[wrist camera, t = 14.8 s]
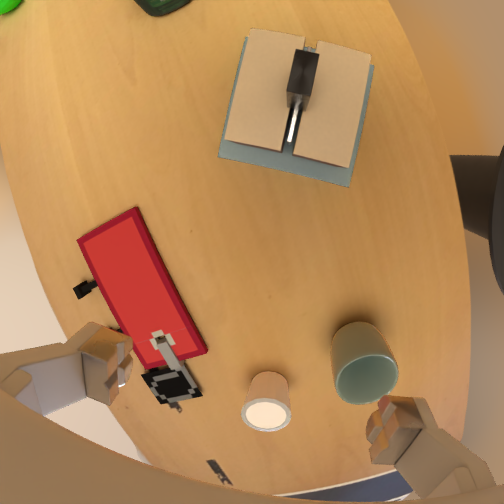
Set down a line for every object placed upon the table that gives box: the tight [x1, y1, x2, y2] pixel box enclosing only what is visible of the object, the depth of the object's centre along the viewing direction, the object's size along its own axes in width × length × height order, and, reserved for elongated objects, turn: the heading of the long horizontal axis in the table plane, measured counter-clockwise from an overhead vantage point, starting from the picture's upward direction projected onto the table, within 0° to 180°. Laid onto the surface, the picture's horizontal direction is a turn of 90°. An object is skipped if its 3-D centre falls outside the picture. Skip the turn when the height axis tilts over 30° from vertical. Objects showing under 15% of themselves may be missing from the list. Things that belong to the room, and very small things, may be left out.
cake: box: [218, 28, 374, 187], centre depth 31 cm, size 16×16×9 cm
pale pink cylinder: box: [241, 371, 291, 432], centre depth 43 cm, size 7×7×7 cm
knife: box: [286, 47, 320, 146], centre depth 26 cm, size 10×2×13 cm, turn 168°
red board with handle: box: [73, 207, 208, 404], centre depth 44 cm, size 30×3×15 cm
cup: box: [330, 322, 398, 405], centre depth 37 cm, size 8×8×10 cm
